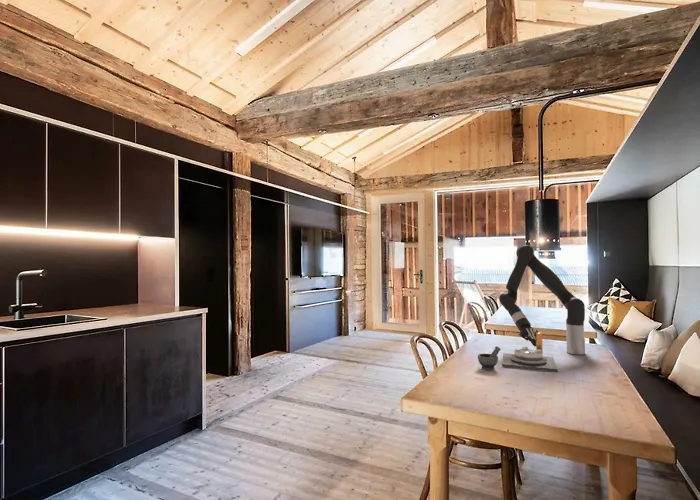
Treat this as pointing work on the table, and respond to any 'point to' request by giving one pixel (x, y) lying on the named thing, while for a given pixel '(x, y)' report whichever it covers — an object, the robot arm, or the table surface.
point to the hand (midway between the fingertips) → (536, 345)
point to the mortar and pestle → (489, 359)
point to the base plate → (531, 367)
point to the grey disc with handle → (531, 351)
